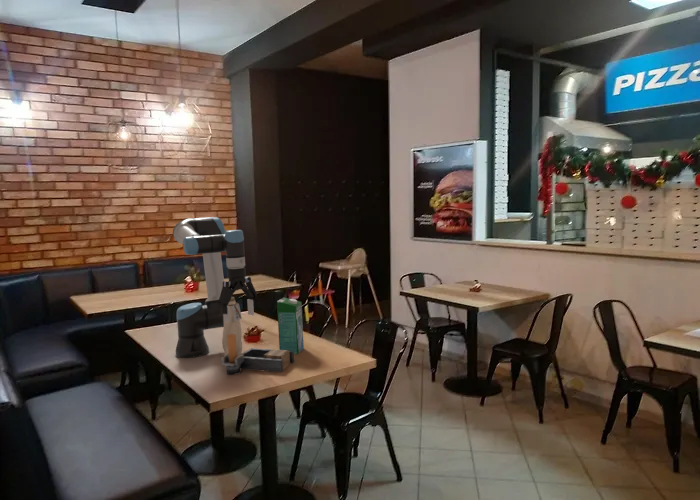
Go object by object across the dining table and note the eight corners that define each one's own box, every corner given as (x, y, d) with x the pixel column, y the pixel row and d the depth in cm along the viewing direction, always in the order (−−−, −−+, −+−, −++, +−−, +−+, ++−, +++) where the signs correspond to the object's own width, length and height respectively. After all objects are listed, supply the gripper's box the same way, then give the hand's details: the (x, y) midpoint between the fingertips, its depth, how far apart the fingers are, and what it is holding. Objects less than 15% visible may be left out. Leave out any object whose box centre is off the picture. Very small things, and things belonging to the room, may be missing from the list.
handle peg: (234, 364, 216) (232, 336, 215) (227, 363, 217) (225, 336, 216) (238, 361, 220) (237, 334, 218) (231, 361, 221) (230, 333, 219)
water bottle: (249, 355, 241) (245, 296, 237) (238, 361, 232) (235, 300, 229) (229, 354, 244) (226, 295, 241) (219, 360, 236) (215, 299, 232)
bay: (236, 368, 223) (236, 357, 223) (252, 358, 236) (251, 348, 235) (281, 372, 217) (280, 360, 216) (294, 362, 229) (294, 351, 228)
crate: (264, 368, 222) (264, 354, 221) (273, 362, 230) (272, 349, 229) (281, 370, 219) (281, 356, 219) (290, 363, 227) (289, 350, 226)
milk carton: (298, 354, 240) (295, 301, 237) (279, 353, 242) (276, 301, 239) (303, 348, 249) (301, 297, 246) (285, 347, 250) (283, 296, 248)
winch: (221, 374, 217) (220, 358, 216) (230, 368, 224) (229, 352, 223) (236, 375, 214) (235, 359, 213) (246, 369, 221) (245, 353, 220)
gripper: (219, 272, 202) (223, 325, 204) (263, 263, 222) (266, 312, 224) (206, 271, 206) (210, 323, 208) (250, 263, 226) (253, 311, 229)
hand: (239, 318), depth 216 cm, fingers open, 13 cm apart
